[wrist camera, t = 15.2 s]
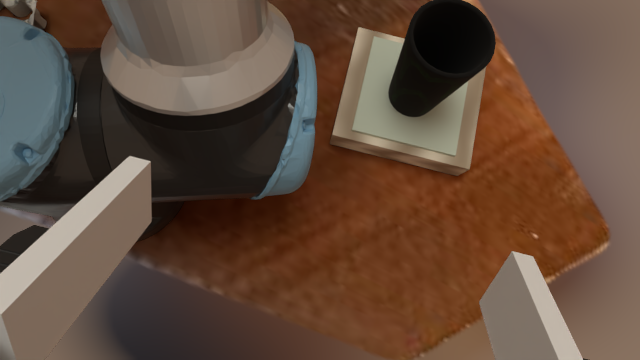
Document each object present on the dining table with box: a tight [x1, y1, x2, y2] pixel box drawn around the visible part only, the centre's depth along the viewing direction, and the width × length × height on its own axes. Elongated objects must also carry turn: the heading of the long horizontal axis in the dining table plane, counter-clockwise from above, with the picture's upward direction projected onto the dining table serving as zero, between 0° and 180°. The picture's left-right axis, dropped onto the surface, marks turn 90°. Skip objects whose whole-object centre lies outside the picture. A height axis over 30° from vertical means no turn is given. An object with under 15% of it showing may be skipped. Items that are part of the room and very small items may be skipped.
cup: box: [388, 0, 496, 117], centre depth 40 cm, size 8×8×12 cm
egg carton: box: [0, 0, 47, 29], centre depth 47 cm, size 11×8×4 cm
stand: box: [330, 27, 486, 176], centre depth 48 cm, size 16×14×4 cm
